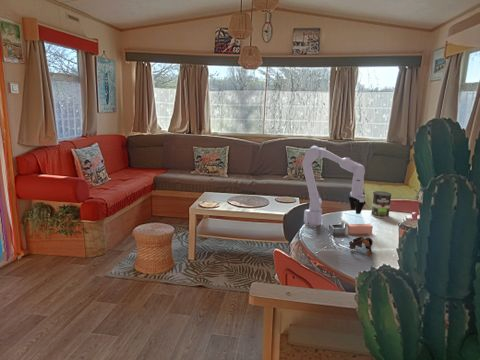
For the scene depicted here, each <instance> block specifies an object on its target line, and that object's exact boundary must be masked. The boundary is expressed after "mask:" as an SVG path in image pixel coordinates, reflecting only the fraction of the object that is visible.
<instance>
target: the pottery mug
mask: <svg viewBox="0 0 480 360" xmlns="http://www.w3.org/2000/svg"><path fill="white" fill-rule="evenodd" d="M364 237H365V236H357V237H356V238H354V239H352V240H350V241H349V242H348V244H349V249H351V250H356V247H358V248H363V245H364V246H365V249H366V250H367V251H366V253H365V254H366V256H367V257H370V256H372V254H373V251H372V245H373V243H374V242H373V239H372V238H371V237H366V238H364Z"/></svg>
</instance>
